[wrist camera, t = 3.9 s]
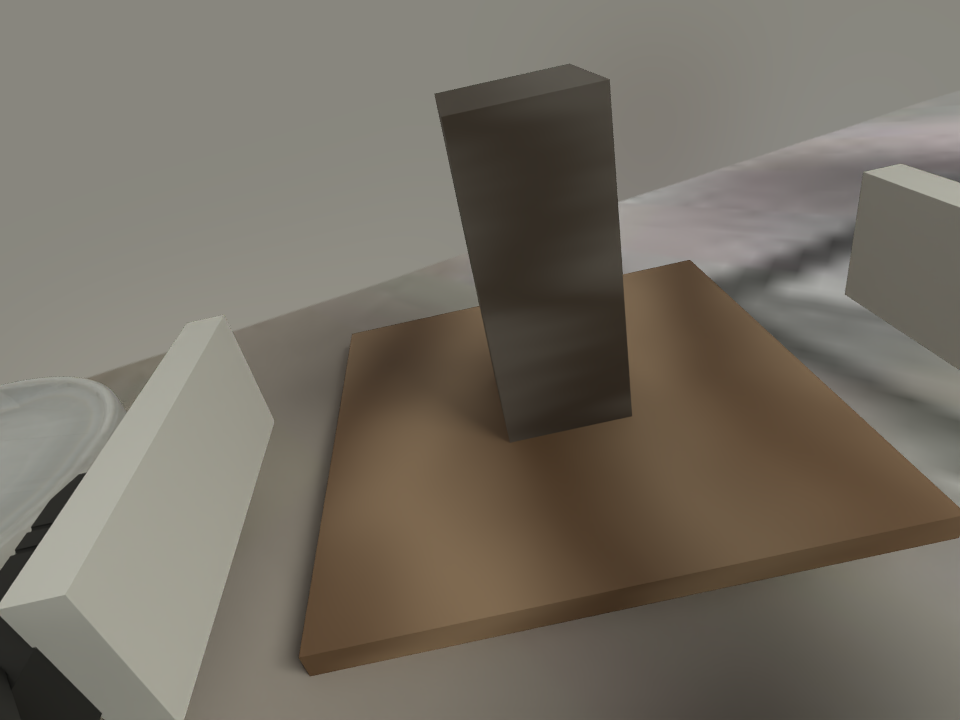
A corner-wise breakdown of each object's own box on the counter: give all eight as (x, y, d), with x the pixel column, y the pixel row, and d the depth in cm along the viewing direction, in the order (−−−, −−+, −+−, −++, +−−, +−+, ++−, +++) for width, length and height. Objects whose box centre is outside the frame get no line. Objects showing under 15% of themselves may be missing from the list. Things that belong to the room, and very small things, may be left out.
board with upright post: (689, 283, 28) (689, 14, 22) (954, 548, 15) (1134, 35, 9) (359, 355, 28) (272, 106, 22) (315, 685, 15) (64, 272, 9)
